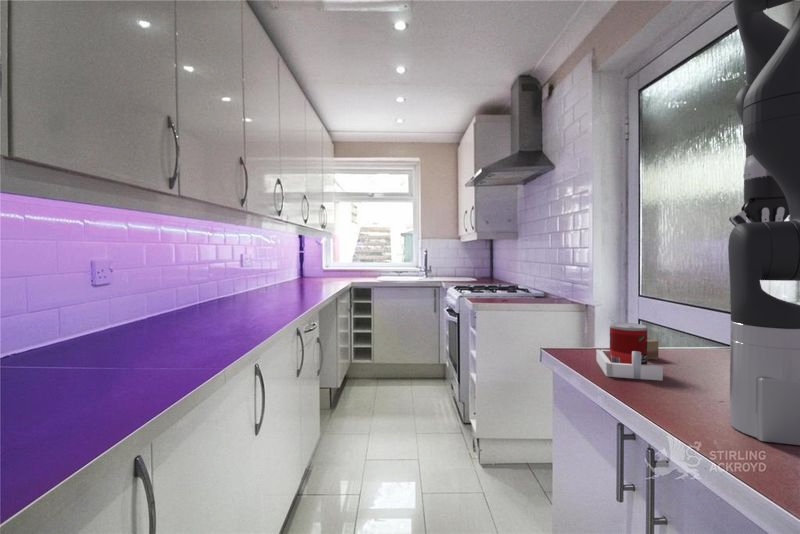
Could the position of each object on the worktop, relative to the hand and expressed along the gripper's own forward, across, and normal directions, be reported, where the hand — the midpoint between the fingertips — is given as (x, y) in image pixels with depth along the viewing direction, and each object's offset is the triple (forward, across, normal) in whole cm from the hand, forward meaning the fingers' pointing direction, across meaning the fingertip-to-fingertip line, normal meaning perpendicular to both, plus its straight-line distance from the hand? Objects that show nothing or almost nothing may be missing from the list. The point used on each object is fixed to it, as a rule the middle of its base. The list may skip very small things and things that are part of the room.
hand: (766, 258), depth 81 cm
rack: (+27, -24, +5) cm, 37 cm away
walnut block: (+27, -18, +19) cm, 38 cm away
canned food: (+27, -25, +5) cm, 37 cm away
